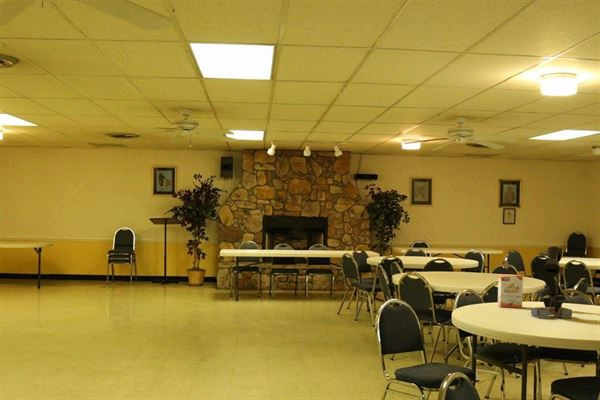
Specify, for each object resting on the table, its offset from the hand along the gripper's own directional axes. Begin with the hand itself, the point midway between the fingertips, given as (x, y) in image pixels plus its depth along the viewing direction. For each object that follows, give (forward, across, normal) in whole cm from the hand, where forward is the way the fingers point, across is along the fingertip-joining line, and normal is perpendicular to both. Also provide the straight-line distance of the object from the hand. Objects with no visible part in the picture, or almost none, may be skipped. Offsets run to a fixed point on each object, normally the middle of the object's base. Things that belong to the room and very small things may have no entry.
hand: (551, 311), depth 324 cm
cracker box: (+4, -36, -6) cm, 37 cm away
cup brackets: (+4, 0, 0) cm, 4 cm away
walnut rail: (+2, 0, 0) cm, 2 cm away
